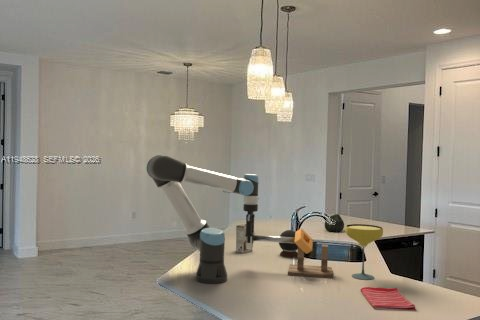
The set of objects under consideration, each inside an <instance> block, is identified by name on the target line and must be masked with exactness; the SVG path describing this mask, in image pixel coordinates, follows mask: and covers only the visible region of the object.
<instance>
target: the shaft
mask: <svg viewBox="0 0 480 320" xmlns="http://www.w3.org/2000/svg"><path fill="white" fill-rule="evenodd" d="M254 233H255V232H254ZM254 233H253V232H252V244H253V245H254V243H255V242H266V243H279V242H281V243H294V242H295V237H280V236H279V235H277V236H275V235H258V234H257V235H256V234H254ZM246 239H247V237H246Z"/></svg>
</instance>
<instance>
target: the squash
mask: <svg viewBox="0 0 480 320" xmlns="http://www.w3.org/2000/svg"><path fill="white" fill-rule="evenodd" d="M329 217H330V218H332V219H333V220H335V221H336V224H335V225H329V224H328V223H327V222H326V220H325V221H324V228H325V230H326V231H327V232H330V231H331V232H336V231H337V232H336V233H340V232H342V231H343V230H344V228H345V223H344V220H343V218H342V217H341V215H340V214H339V213H335V214H333V215H330V216H329Z"/></svg>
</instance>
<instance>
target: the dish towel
mask: <svg viewBox="0 0 480 320" xmlns="http://www.w3.org/2000/svg"><path fill="white" fill-rule="evenodd" d="M360 293H361V294H362V296H364V298H365V300H366V301H367V302H368V303H369V304H370V306H371V307H372V308H373V309H375V310H388V311H389V310H390V311H412V312H413V311H415V312H416V311H417V308H416V305H415V304H414V303H412V302H411V301H409V300H408V299H407V298H406V297H405V296H404V295H403V294H402V293H401V292H400V291H399V289H398V288H397V287H395V288H393V287H392V288H384V287H373V286H372V287H370V286H364V287H361V288H360Z"/></svg>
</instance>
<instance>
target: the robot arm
mask: <svg viewBox="0 0 480 320" xmlns="http://www.w3.org/2000/svg"><path fill="white" fill-rule="evenodd" d="M145 168H146V174H147V175H148V176H149V177H150V178H151V179H152V180H153V182H154V184H155V185H156V187H157V188H159V189H162V191H163V192H164V194H165V196H166V197H167V199H168V200H169V202H170V204H171V205H172V207H173V209H174V210H175V212H176V213H177V215H178V217H179V219H180V220H181V222H182V223H183V225H184V227H185V228H186V230H185V234H186V236H187V238H188V241H189V243H190V245H191V247H192V248H194V249H195V250H197V251H198V252H199V264H198V267H197V268H196V273H195V281H197V282H199V283H205V284H220V283H221V284H222V283H224V282H226V281H228V272H227V267H226V266H225V248H226V247H225V244H226V242H225V241H226V237H225V232H224V231H223V230H222V229H220V228H215V227H210V226H209V224H208V222H207V220H206V219H205V220H204V219H202V218H201V217H200V215H199V213H198V211H197V210H196V208H195V206H194V205H193V203H192V201H191V199H190V198H189V196H188V194H187V193H186V191H185V190H184V188H183V186H182V184H181V183H183V182H186V183H190V184H195V185H199V186H202V187H207V188H212V189H214V190H220V191H222V192H223V193H227V194H230V193H231V194H232V193H233V194H237V195H241V196H243V211H244V212H247V214H246V215H245V222H246V223H245V224H246V235H245V236H246V237H247V239H246V249H252V250H253V248H254V243H253V244H252V232H253V233H254V235H256V233H255V217H256V216H255V215H256V214H254V213H255V212H258V209H259V205H258V203H259V202H258V201H259V199H260V197H259V184H260V183H259V175H258V174H254V173H253V174H252V173H245V174H243V175H244V176H243V177H235V176H232V175H227V174H224V173H219V172H215V171H211V170H208V169H203V168H199V167H196V166H192V165H188V163H186V162H184V161H180V160H178V159H176V158H173V157H170V156H169V155H168V156H167V155H160V154H159V155H155V156H153V157H151V158H150V159H148V161H147V163H146V167H145Z"/></svg>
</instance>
